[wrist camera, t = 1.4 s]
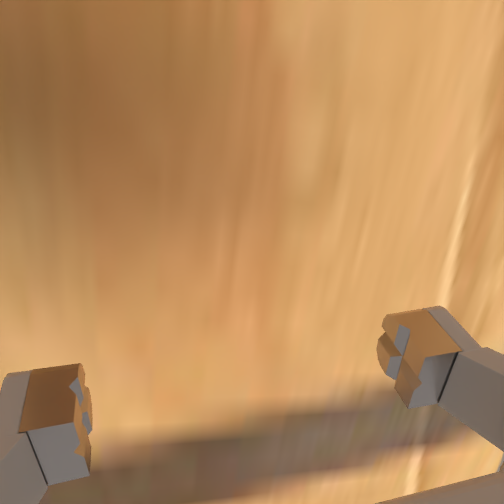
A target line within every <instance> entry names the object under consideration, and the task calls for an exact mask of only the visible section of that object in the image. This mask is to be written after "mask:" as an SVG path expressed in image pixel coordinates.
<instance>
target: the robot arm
mask: <svg viewBox="0 0 504 504" xmlns="http://www.w3.org/2000/svg"><path fill="white" fill-rule="evenodd" d="M382 327H383V329H384V330H385V333H384V334H383V335H382V336H381V337H380V338H379V339H378V344H377V356H378V360H379V363H380V366H381V368H382V369H383V371H384V372H385V374H386V375H388V376H389V377H391V378H393V379H394V380H395V387H394V388H395V390H396V391H397V393H398V394H399V396H400V397H401V399H402V401H403V402H404V404H405V405H406V407H407V408H408V409H410V408H415V407H421V406H426V405H432V404H437V403H439V404H438V405H439V406H440V407H441V408H443V409H444V410H446V411H447V412H449V413H450V414H451V415H453V416H454V417H456V418H457V419H458V420H460V421H461V422H463V423H464V424H465V425H467V426H468V427H470V428H471V429H472V430H474V431H475V432H477V433H478V434H479V435H481V436H482V437H484V438H485V439H486V440H488V441H489V442H491V443H492V444H493V445H495V446H496V447H498V448H499V449H500V450H502V451H503V452H504V355H503V354H501V353H499V352H496V351H494V350H492V349H490V348H488V347H485V348H481V346H480V345H479V344H478V343H477V342H476V341H475V340H474V339H473V338H472V337H471V336H470V335H469V334H468V332H467V331H466V330H465V329H464V328H463V327H462V326H461V325H460V324H459V323H458V322H457V321H456V320H455V319H454V317H453V316H452V315H451V314H450V313H449V312H448V311H447V310H446V309H445V308H443V307H441V306H435V307H429V308H423V309H417V310H411V311H405V312H399V313H393V314H388V315H386V316H385V318H384V319H383V323H382ZM84 385H85V372H84V369H83V366H82V364H81V363H78V364H71V365H63V366H56V367H48V368H41V369H34V370H30V371H22V372H15V373H8V374H7V375H6V377H5V378H4V380H3V383H2V387H1V391H0V504H38V503H39V502H40V500H41V498H42V497H43V495H44V494H45V492H46V491H47V489H48V487H47V486H48V485H53V484H57V483H61V482H65V481H69V480H74V479H78V478H82V477H86V476H90V462H91V445H90V441H89V437H88V435H89V433H90V432H91V431H92V419H93V418H92V403H91V396H90V392H89V388H88V387H86V386H84ZM375 504H504V462H503V464H502V465H501V467H500V471H499V472H496V473H492V474H488V475H485V476H481V477H477V478H473V479H469V480H465V481H461V482H457V483H453V484H450V485H446V486H442V487H438V488H434V489H430V490H426V491H422V492H418V493H414V494H411V495H407V496H403V497H399V498H395V499H391V500H387V501H383V502H379V503H375Z"/></svg>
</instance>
